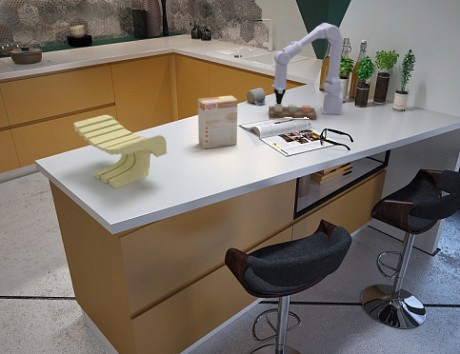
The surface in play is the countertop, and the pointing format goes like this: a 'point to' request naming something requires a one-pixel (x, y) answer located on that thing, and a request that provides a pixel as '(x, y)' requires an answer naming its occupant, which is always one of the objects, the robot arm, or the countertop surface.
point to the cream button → (278, 107)
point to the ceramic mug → (256, 96)
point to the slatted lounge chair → (120, 149)
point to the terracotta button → (306, 108)
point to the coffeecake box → (217, 121)
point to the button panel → (291, 113)
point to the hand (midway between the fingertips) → (278, 103)
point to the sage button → (292, 108)
